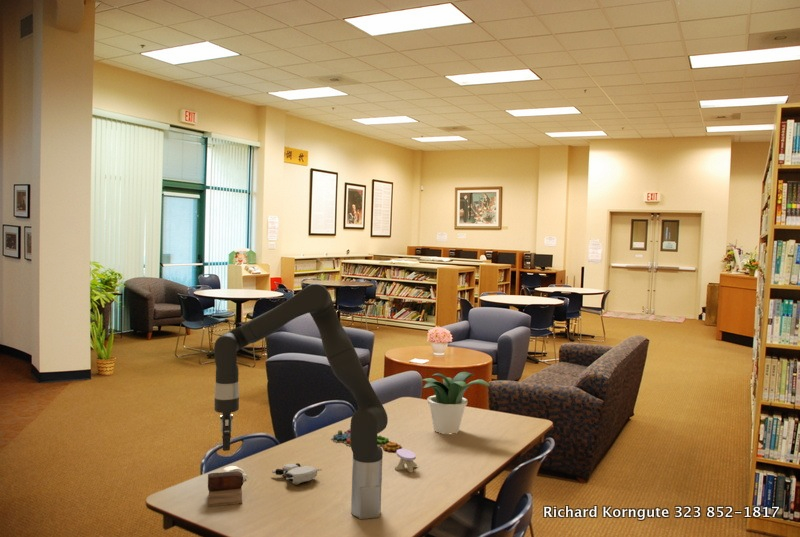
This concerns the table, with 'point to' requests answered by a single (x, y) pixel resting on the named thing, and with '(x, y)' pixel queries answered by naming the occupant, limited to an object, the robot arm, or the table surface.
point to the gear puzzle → (380, 441)
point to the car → (234, 468)
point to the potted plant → (449, 401)
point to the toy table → (406, 459)
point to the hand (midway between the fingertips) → (226, 445)
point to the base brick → (225, 497)
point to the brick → (225, 480)
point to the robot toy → (297, 473)
